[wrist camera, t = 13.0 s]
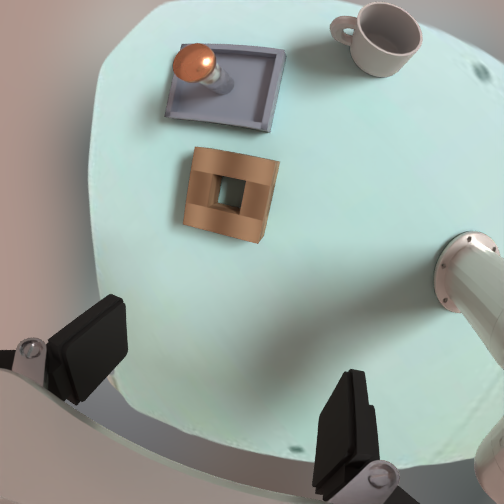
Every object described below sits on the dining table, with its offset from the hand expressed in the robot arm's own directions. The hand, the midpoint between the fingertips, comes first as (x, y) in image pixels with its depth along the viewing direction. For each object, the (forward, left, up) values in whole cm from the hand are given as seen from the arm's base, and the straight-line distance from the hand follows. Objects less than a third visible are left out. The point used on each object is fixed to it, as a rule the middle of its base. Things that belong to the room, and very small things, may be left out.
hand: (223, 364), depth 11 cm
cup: (-5, -25, -28) cm, 38 cm away
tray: (+12, -16, -28) cm, 35 cm away
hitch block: (+8, -2, -28) cm, 29 cm away
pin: (+12, -16, -28) cm, 34 cm away
